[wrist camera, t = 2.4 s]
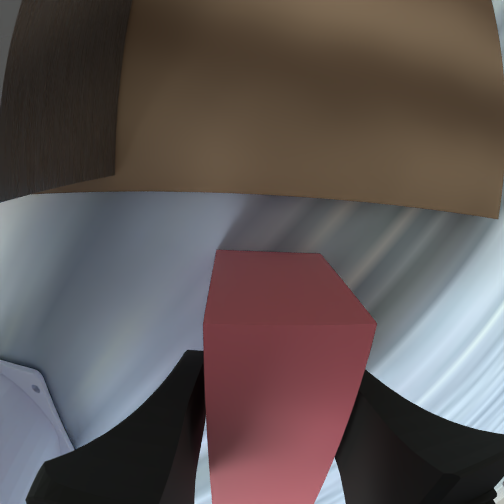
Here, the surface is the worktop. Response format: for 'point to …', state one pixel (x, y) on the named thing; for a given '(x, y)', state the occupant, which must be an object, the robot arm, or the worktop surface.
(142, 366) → the worktop surface
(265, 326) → the red rectangular block
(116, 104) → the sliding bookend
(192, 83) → the book shelf
